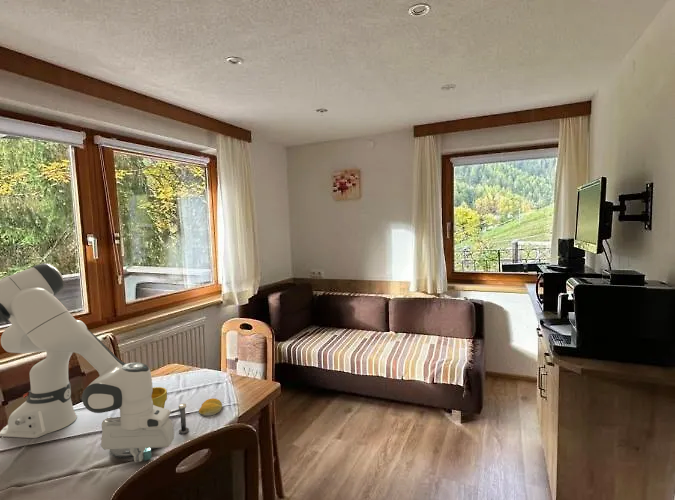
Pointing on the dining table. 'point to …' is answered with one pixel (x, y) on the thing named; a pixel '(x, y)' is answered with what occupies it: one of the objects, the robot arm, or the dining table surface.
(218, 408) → the bread roll
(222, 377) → the dining table surface
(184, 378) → the dining table surface
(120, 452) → the turntable
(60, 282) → the robot arm
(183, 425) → the dial post
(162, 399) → the plant pot
